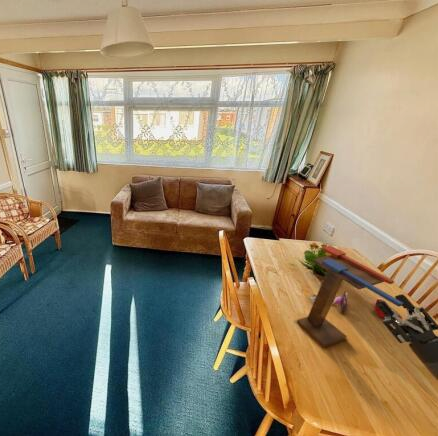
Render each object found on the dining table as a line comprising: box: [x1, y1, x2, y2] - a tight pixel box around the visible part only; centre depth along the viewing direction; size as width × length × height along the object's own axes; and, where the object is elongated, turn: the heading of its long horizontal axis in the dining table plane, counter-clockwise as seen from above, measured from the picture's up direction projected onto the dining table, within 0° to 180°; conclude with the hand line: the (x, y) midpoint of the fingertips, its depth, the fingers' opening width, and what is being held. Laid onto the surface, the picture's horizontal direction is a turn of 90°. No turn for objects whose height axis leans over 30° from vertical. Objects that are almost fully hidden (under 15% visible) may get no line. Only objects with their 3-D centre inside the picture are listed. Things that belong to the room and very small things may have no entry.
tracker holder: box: [373, 297, 403, 321], centre depth 102 cm, size 12×4×10 cm
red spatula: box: [321, 245, 395, 285], centre depth 83 cm, size 22×4×1 cm, turn 17°
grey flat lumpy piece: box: [309, 294, 317, 304], centre depth 109 cm, size 7×8×2 cm
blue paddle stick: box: [322, 259, 404, 308], centre depth 75 cm, size 22×4×1 cm, turn 17°
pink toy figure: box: [332, 290, 349, 315], centre depth 106 cm, size 7×5×9 cm
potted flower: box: [298, 242, 342, 280], centre depth 123 cm, size 25×24×18 cm
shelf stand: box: [296, 255, 385, 348], centre depth 88 cm, size 16×14×32 cm
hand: (389, 298), depth 68 cm, fingers open, 8 cm apart
